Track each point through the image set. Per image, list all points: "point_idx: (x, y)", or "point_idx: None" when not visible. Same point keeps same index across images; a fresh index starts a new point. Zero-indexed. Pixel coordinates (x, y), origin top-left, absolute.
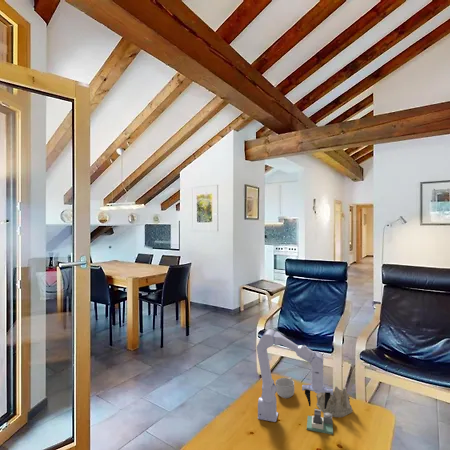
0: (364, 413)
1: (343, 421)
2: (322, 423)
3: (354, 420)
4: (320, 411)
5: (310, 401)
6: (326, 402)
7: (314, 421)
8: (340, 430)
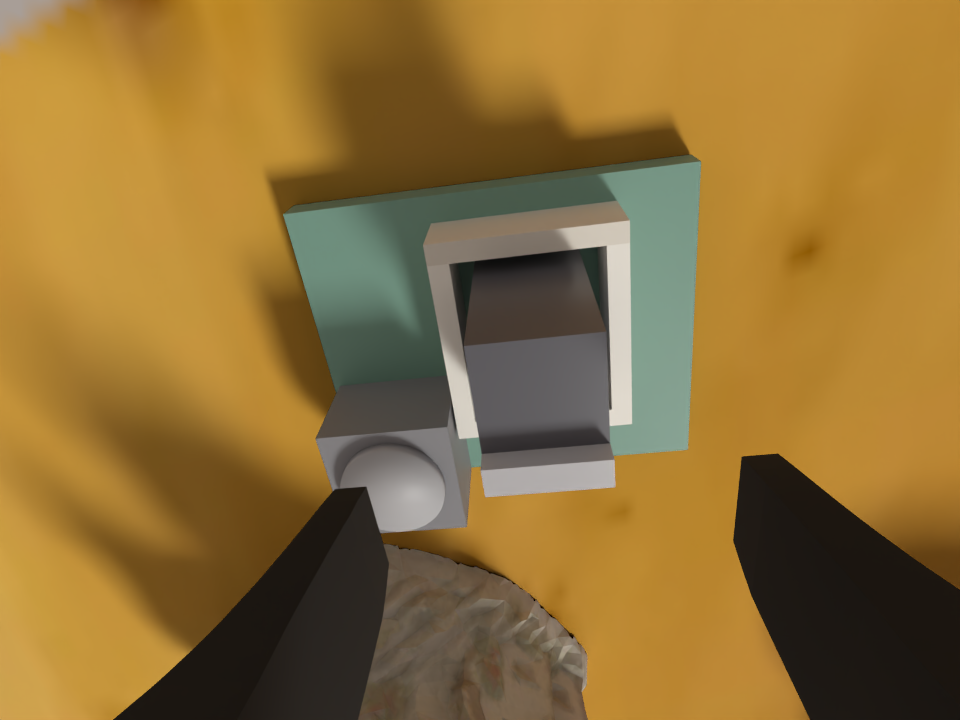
0: (115, 670)
1: (253, 506)
2: (446, 292)
3: (156, 556)
4: (488, 459)
5: (772, 593)
6: (225, 642)
7: (584, 272)
8: (231, 337)
